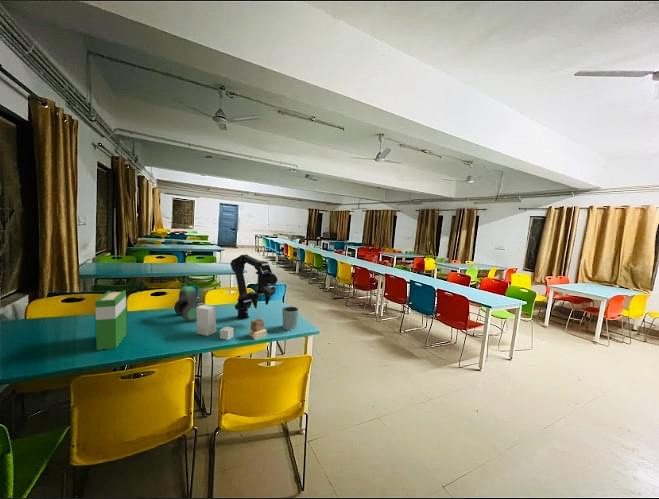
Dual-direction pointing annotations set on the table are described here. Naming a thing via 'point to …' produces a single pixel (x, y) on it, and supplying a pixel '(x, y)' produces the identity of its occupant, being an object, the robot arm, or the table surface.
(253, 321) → the walnut cube
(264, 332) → the maple block
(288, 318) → the grey cup
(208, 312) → the skincare box
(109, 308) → the hardback book
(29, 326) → the table surface
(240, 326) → the table surface
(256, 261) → the robot arm
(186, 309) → the headphones
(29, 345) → the table surface
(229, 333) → the grey cube
